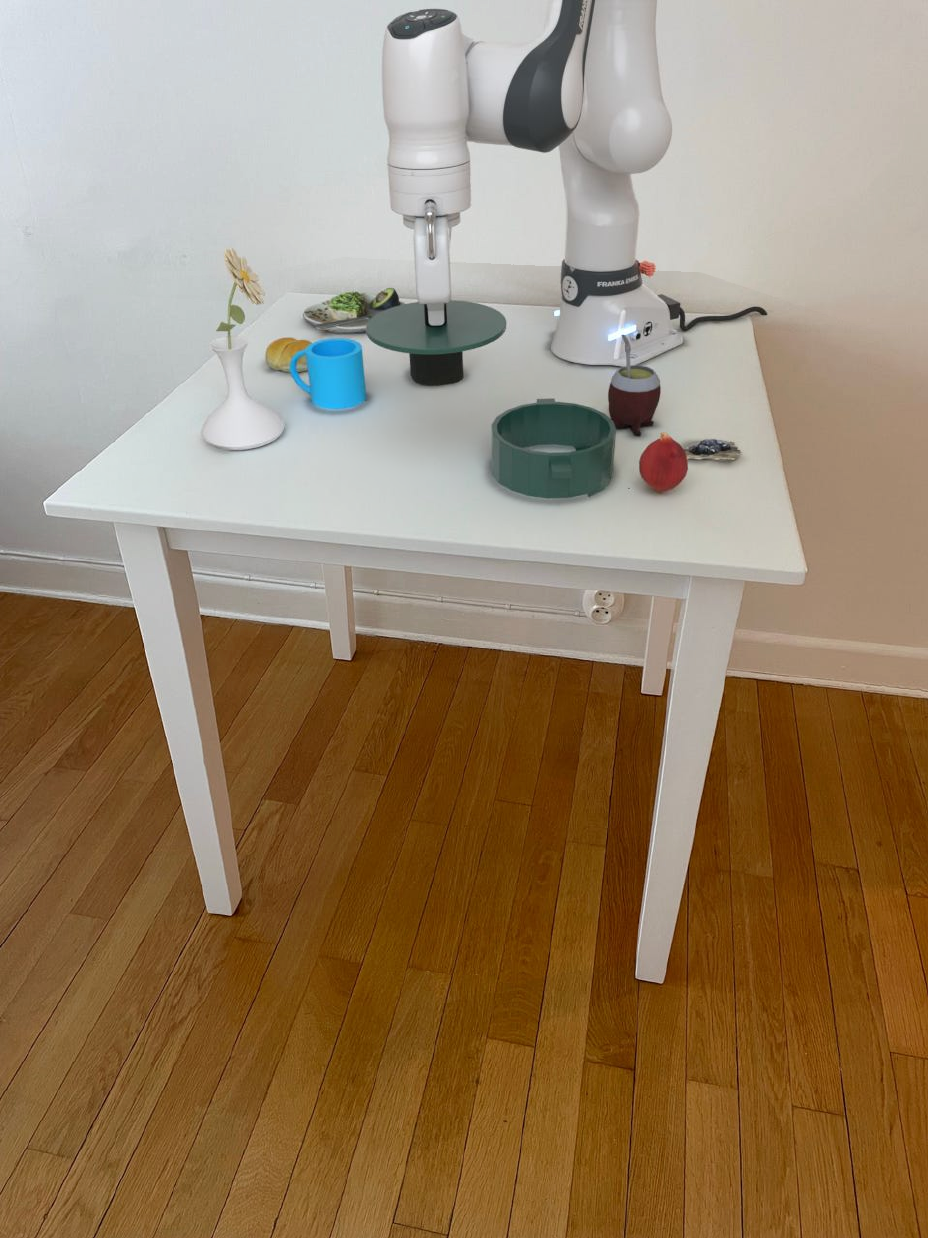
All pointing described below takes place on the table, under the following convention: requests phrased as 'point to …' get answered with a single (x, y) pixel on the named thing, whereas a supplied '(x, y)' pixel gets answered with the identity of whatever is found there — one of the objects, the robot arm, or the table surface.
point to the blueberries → (712, 450)
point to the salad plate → (350, 311)
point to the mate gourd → (633, 395)
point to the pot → (553, 470)
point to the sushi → (436, 368)
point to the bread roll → (286, 354)
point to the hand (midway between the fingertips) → (436, 317)
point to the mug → (333, 373)
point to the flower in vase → (239, 377)
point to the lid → (436, 328)
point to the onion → (663, 464)
